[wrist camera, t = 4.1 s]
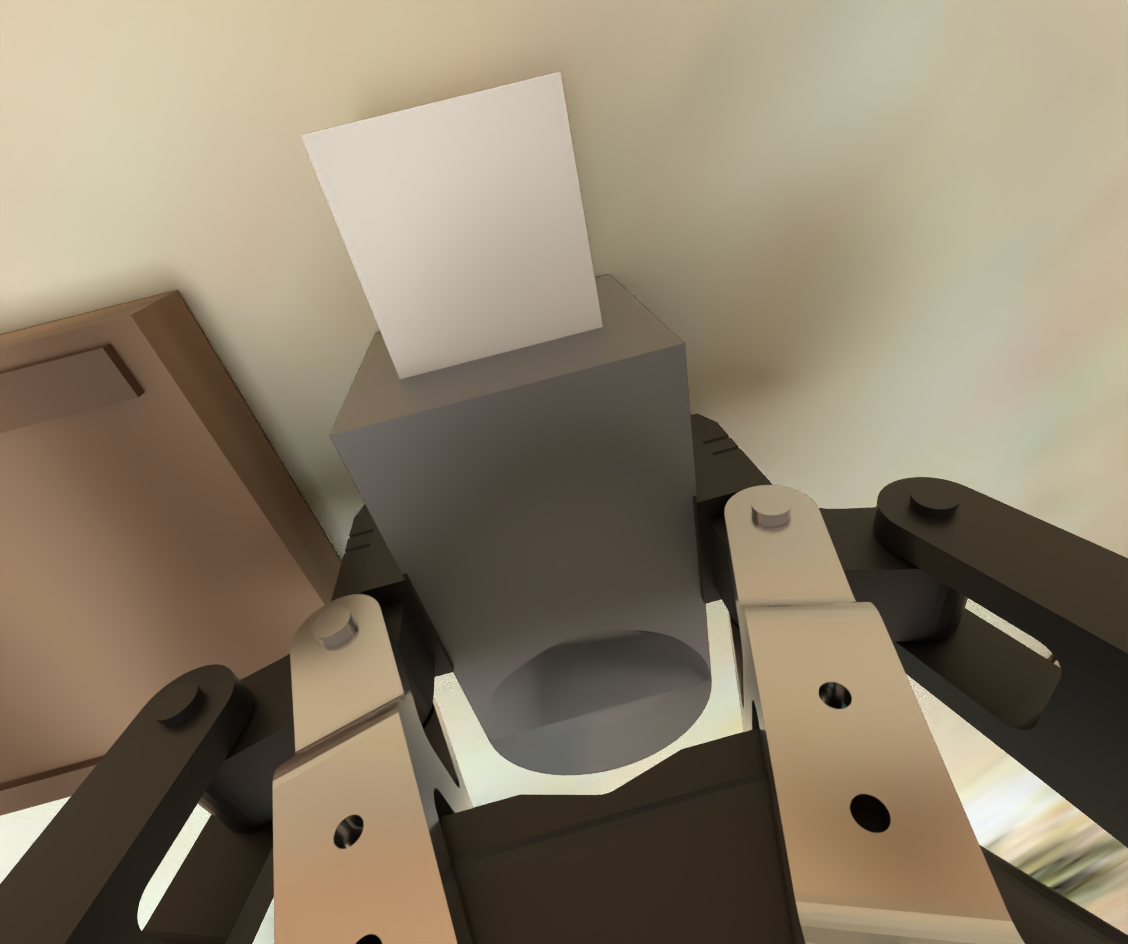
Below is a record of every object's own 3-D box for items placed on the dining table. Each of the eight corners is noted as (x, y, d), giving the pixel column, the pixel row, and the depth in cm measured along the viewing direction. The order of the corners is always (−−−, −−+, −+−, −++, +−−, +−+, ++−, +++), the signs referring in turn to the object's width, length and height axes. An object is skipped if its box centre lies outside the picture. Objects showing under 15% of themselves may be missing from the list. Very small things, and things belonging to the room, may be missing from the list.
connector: (297, 147, 8) (182, 154, 5) (580, 78, 8) (660, 38, 5) (505, 648, 15) (518, 796, 12) (659, 606, 15) (716, 740, 12)
